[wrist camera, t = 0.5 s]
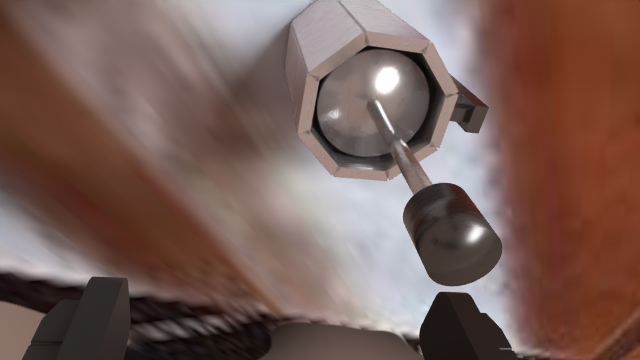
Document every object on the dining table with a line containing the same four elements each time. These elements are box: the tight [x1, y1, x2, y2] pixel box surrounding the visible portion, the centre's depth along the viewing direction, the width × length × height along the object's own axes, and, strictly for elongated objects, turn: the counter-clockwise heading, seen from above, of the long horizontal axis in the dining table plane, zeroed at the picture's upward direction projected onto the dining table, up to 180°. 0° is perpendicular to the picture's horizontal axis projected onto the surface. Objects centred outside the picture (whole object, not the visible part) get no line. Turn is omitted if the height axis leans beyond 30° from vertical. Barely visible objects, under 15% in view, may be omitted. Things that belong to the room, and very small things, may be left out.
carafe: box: [285, 0, 489, 181], centre depth 34 cm, size 10×13×14 cm
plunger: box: [316, 47, 502, 286], centre depth 23 cm, size 8×8×15 cm
